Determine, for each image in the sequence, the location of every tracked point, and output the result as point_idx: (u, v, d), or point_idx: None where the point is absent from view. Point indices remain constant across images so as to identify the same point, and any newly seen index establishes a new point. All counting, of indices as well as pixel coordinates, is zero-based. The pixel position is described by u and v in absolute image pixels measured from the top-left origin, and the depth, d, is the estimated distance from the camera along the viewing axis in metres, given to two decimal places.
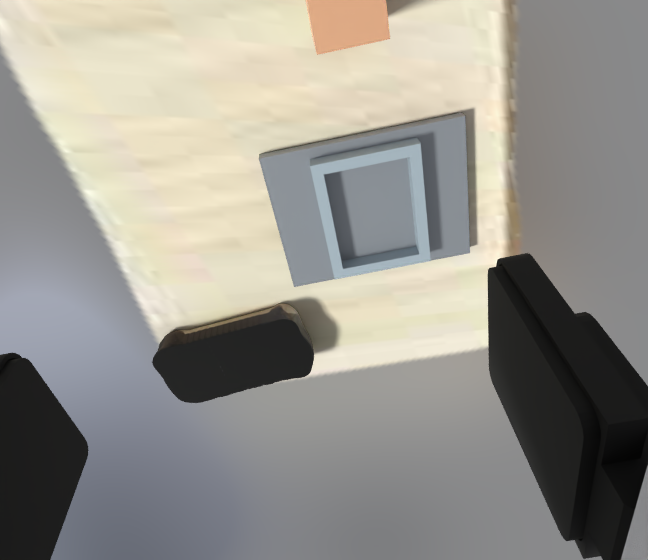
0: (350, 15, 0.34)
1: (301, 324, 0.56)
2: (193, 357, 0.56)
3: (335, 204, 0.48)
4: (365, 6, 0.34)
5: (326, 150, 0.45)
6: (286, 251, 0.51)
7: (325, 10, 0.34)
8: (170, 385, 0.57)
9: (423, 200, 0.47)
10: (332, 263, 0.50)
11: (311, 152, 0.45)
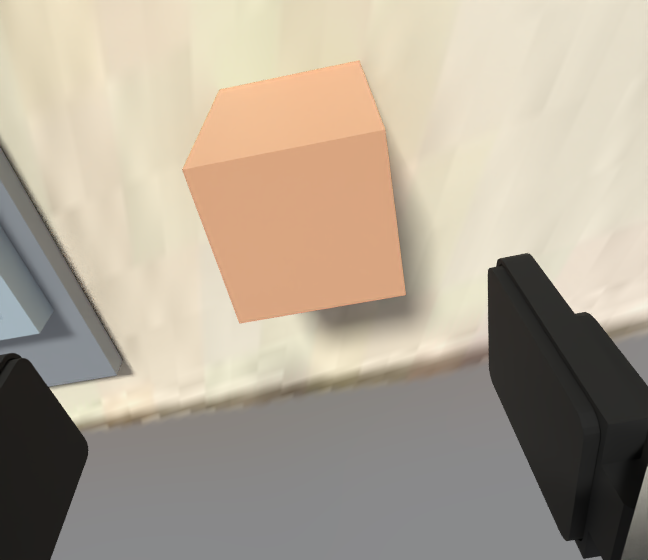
0: (283, 245, 0.14)
1: None
2: None
3: None
4: (302, 274, 0.15)
5: None
6: None
7: (291, 189, 0.13)
8: None
9: None
10: None
11: None
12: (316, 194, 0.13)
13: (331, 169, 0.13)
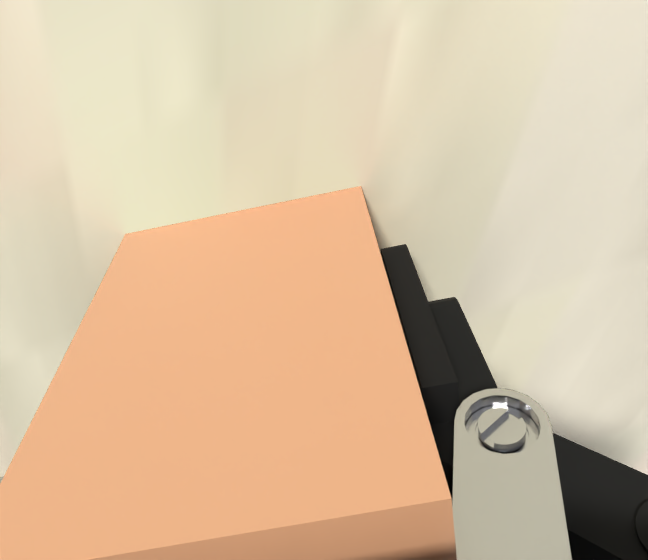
0: None
1: None
2: None
3: None
4: None
5: None
6: None
7: None
8: None
9: None
10: None
11: None
12: None
13: None
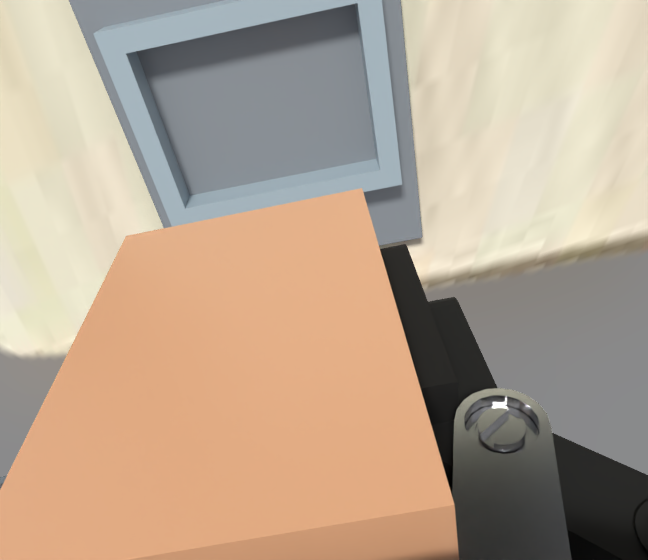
0: None
1: None
2: None
3: (272, 28, 0.23)
4: None
5: (389, 6, 0.23)
6: None
7: None
8: None
9: None
10: (137, 27, 0.22)
11: None
12: None
13: None
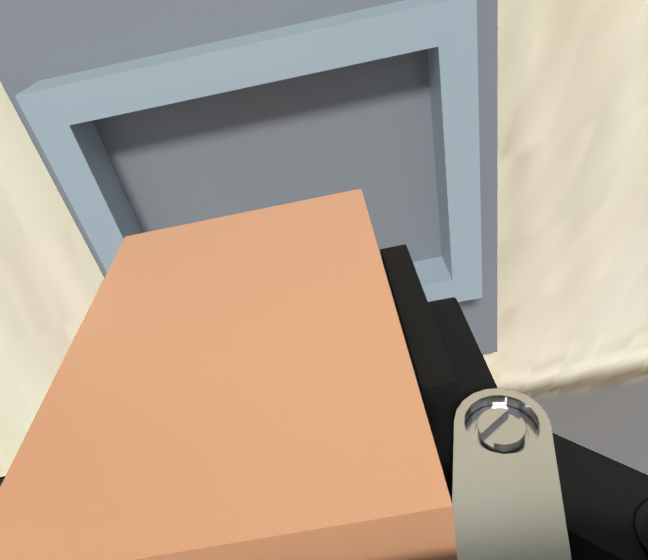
0: None
1: None
2: None
3: (298, 81, 0.15)
4: None
5: (479, 47, 0.15)
6: None
7: None
8: None
9: None
10: (85, 85, 0.14)
11: None
12: None
13: None
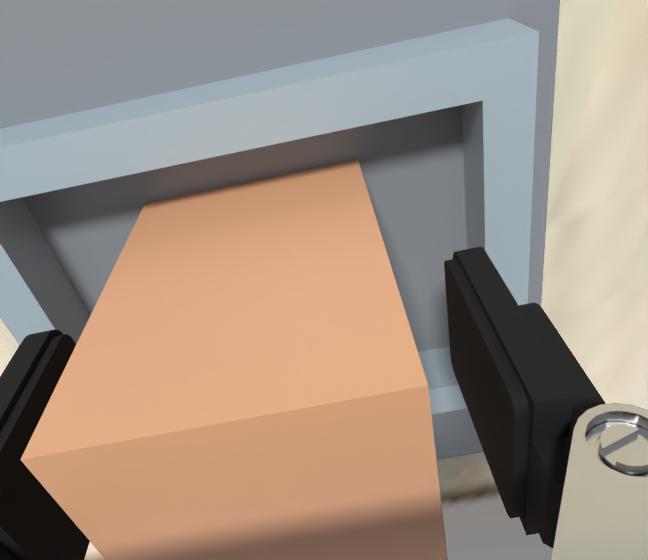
0: (234, 544, 0.08)
1: None
2: None
3: None
4: None
5: None
6: None
7: (243, 475, 0.07)
8: None
9: None
10: None
11: (537, 29, 0.11)
12: (293, 481, 0.07)
13: (320, 445, 0.07)
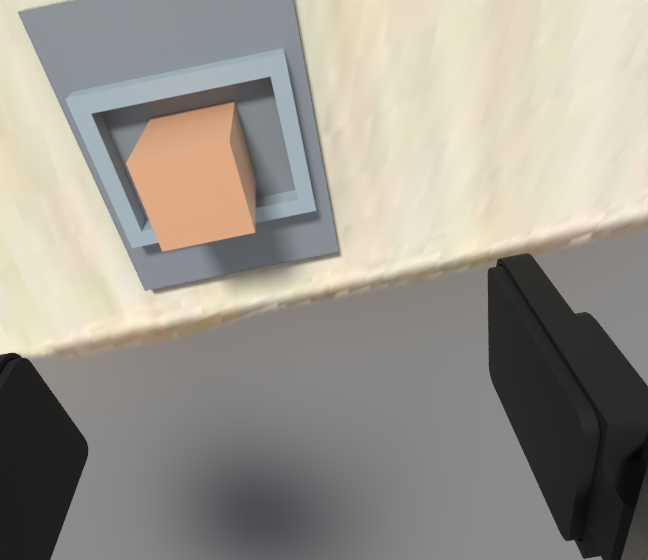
0: (183, 204, 0.26)
1: None
2: None
3: (207, 92, 0.30)
4: (195, 221, 0.27)
5: (297, 76, 0.30)
6: None
7: (184, 173, 0.25)
8: None
9: None
10: (100, 94, 0.28)
11: (294, 52, 0.29)
12: (198, 175, 0.25)
13: (204, 162, 0.25)
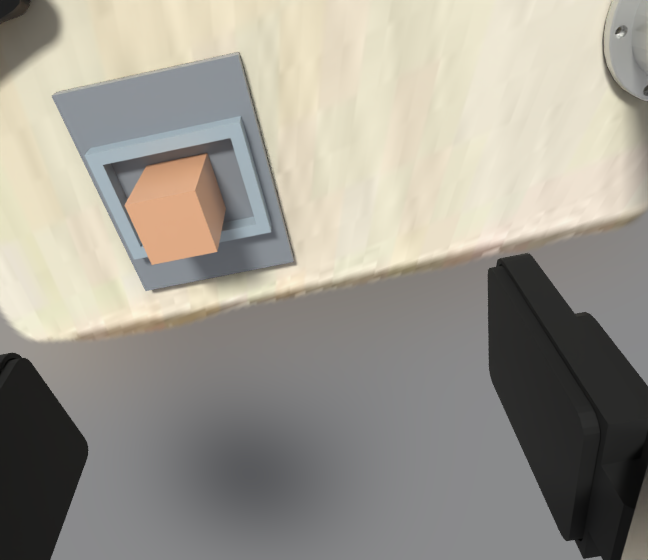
0: (165, 232, 0.37)
1: None
2: None
3: (186, 147, 0.41)
4: (174, 243, 0.38)
5: (252, 135, 0.41)
6: (108, 86, 0.38)
7: (165, 211, 0.36)
8: None
9: None
10: (108, 151, 0.39)
11: (249, 118, 0.40)
12: (174, 213, 0.36)
13: (178, 204, 0.36)
